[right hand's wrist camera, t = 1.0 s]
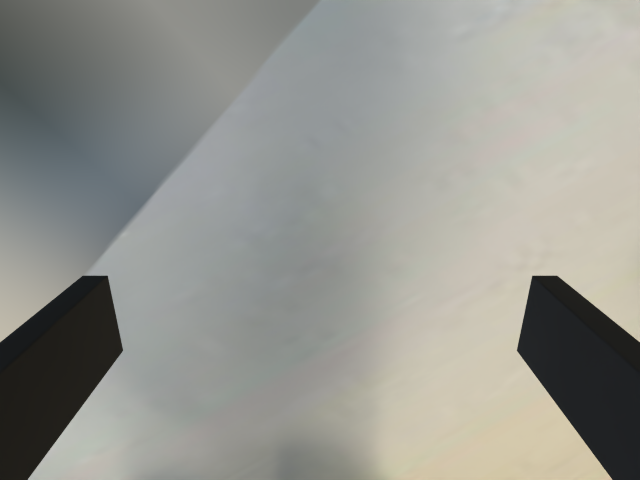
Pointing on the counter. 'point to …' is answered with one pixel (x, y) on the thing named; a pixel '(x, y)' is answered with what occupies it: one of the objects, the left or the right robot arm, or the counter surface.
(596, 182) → the counter surface
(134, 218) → the counter surface
